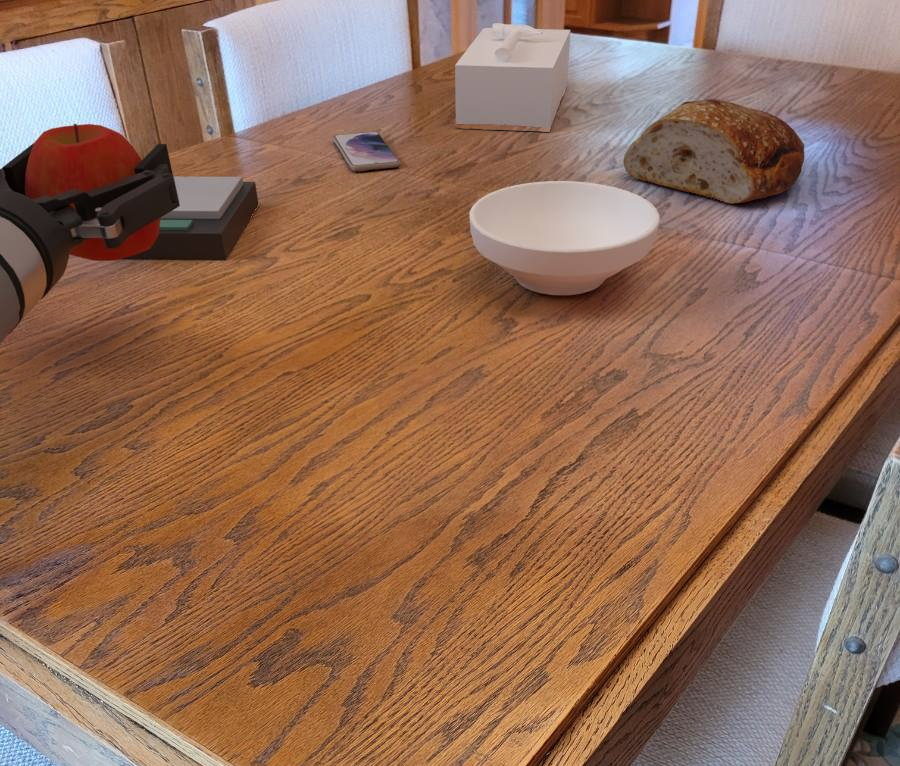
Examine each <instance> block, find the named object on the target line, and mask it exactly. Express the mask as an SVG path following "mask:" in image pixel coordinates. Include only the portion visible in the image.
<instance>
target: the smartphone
mask: <svg viewBox="0 0 900 766" xmlns="http://www.w3.org/2000/svg"><path fill="white" fill-rule="evenodd" d="M332 140H333V141H334V144H335V145H336V146H337V148H338V150H339V151H340V153H341V154H342V156H343V158H344V160H345V162H346V163H347V165H348V166H349V168H350V170H351V171H353V172H355V171H358V172H366V171H370V170H381V169H391V168H392V169H393V168H399V166H401V161H400V159H399V158H398V156H397V155H396V154H395V153H394V151H393V150H392V149H391V147H390V145H388V143H387V142H386V141H385V140H384V138H383V137H382V135H381V134H380V133H379V132H378V131H369V132H367V131H366V132H357V133H356V132H354V133H342V134H341V133H340V134H335V135H333V136H332Z"/></svg>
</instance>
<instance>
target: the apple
mask: <svg viewBox="0 0 900 766" xmlns="http://www.w3.org/2000/svg"><path fill="white" fill-rule="evenodd" d="M33 143H34V145H33V148H32V151H31V153H30V156H29V159H28V164H27V169H26V173H25V195H26V197H28V198H30V199H36V198H39V197H42V196H50V197H53V196H56V195H58V194H61V193H64V192H67V191H70V190H73V189H76V190H79V191H83V192H88V191H90V190H93V189H96V188H99V187H102V186H104V185H107V184H110V183H113V182H115V181H118V180H121V179H124V178H127V177H129V176H132V175H135V170H134V168H135V167H136V166H137V165H138V164H139V163H140V162H141V161H142V160H143V159H142V158H141V156H140V155H139V154H138V152H137V150H136V149H135V147H134V146H133V145H132V144H131V143H130V142H129V141H128V140H127V139H126V138H125V136H124V135H123V134H121V133H120V132H118V131H116V130H114V129H111V128H109V127H106V126H103V125H100V124H93V123H85V124H77V123H73V125H64V126H58V127H53V128H49V129H46V130H44V131H43V132H42V133H41V134H40V135H39V137H37V139H36V140H35V141H34V142H33ZM70 205H71V206H72V208H73V209H74V210H75V211H76V209H75V205H74V203H72V204H70ZM160 220H161V218H159V219H157V220H156V221H154V222H152V223H150V224H149V225H147V226H145V227H144V228H142V229H140V230H139V231H137V232H135V233H134V234H132V235H130V236H128V237H127V238H126V240H125V241H124V242H123V244H122V245H121V246H120V247H117V248H111V249H110V248H106V247H105V243H104V240H103V238H90V239H87V240H86V241H85V242H84V243H83V244H82V245H80V246H77V247H75V248H73V249H72V250H71V251H70V255H69V256H73V257H77V258H81V259H84V260H89V261H94V262H110V261H112V262H113V261H118V260H122V258H125V257H129V256H132V255H136V254H138V253H141V252H143V251H146V250H148V249H150V248H151V247H152V245H153V243H154V242H155V240H156V239H157V237H158V235H159V229H160Z"/></svg>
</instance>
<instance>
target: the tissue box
mask: <svg viewBox="0 0 900 766" xmlns="http://www.w3.org/2000/svg"><path fill="white" fill-rule="evenodd" d="M570 44H571V29H555V28H554V29H553V28H551V29H550V28H549V29H548V28H534V27H532V26H530V25H528V24H510V23H509V24H508V23H507V24H506V23H501V22H500V23H495V22H494V23H492V27H483V28H482V30H481V31H480V32H479V34H478V35H477V36H476V38H475V39H474V40H473V42H472V43H471V44H470V45H469V47H468V48H467V49H466V50H465V52H464V53H463V54H462V55H461V56H460V58H458V60H457V62H456V63H455V65H454V85H455V86H454V88H455V89H454V90H455V91H454V92H455V95H454V97H455V100H454V101H455V125H456V124H497V125H500V124H501V125H504V124H506V125H521V126H533V127H545V128H550V126H551V123H552V121H553V118H554V115H555V113H556V110H557V108H558V105H559V103H560V100H561V98H562V95H563V93H564V90H565V88H566V85H567V86H568V75H569V61H570V59H569V58H570Z"/></svg>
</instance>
